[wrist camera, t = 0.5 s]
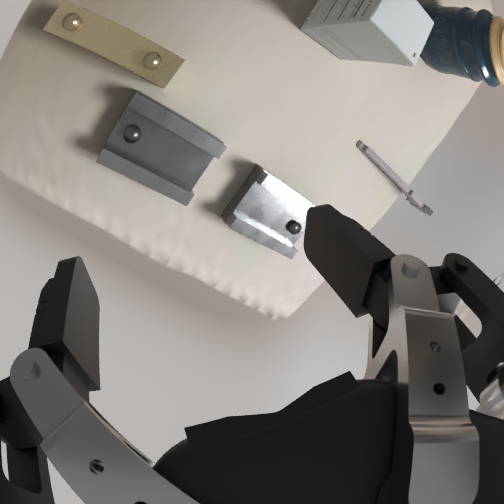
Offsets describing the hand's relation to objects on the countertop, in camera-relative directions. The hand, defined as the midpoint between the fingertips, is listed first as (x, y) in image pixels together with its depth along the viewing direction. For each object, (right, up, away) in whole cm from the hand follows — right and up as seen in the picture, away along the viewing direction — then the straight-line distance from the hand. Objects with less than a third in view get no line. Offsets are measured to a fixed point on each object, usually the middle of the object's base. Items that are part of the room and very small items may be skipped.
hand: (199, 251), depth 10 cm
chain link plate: (-12, +21, +12) cm, 27 cm away
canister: (+32, +36, +22) cm, 53 cm away
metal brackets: (-2, +9, +25) cm, 26 cm away
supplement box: (+12, +28, +17) cm, 35 cm away
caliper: (+25, +13, +35) cm, 44 cm away
